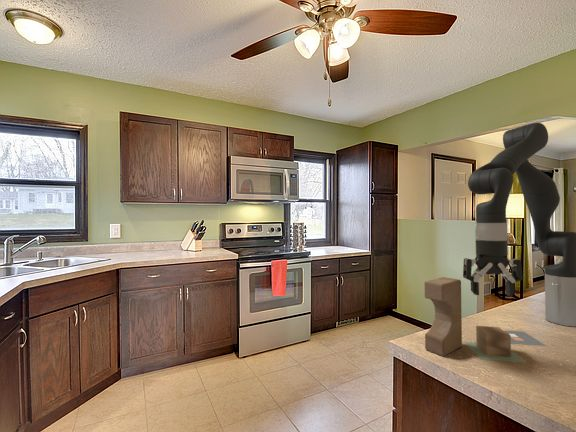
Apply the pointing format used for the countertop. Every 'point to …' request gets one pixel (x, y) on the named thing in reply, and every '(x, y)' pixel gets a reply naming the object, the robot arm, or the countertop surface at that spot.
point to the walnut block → (493, 341)
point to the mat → (482, 355)
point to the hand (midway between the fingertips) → (492, 295)
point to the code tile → (523, 338)
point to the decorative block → (444, 315)
